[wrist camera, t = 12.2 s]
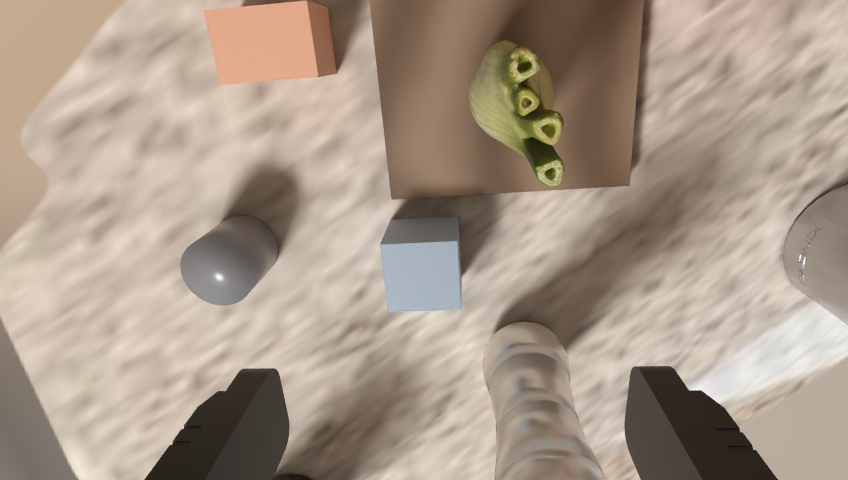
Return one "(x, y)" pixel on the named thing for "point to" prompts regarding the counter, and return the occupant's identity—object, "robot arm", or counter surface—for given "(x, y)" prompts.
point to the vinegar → (291, 477)
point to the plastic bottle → (535, 408)
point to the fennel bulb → (519, 106)
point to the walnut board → (458, 61)
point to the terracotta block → (271, 42)
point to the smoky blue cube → (422, 264)
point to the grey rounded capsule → (229, 260)
